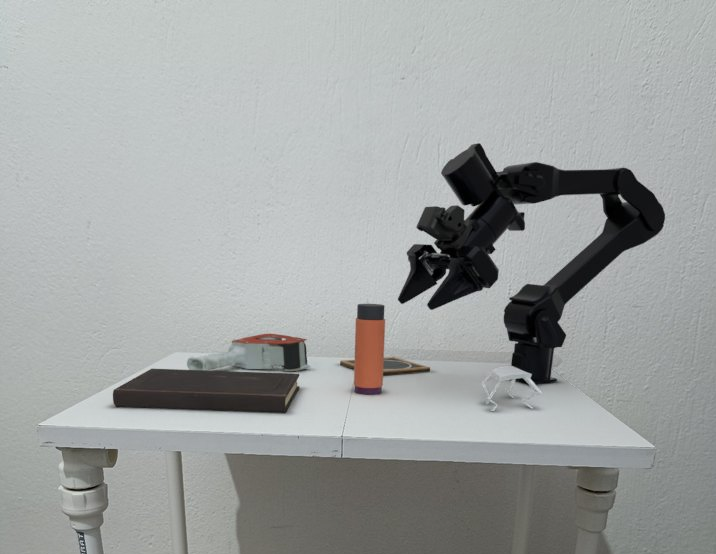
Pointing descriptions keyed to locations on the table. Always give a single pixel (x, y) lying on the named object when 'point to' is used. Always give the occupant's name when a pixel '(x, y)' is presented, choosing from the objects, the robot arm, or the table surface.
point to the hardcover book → (209, 390)
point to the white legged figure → (509, 374)
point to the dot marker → (369, 348)
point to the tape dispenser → (257, 354)
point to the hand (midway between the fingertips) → (413, 304)
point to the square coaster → (393, 366)
